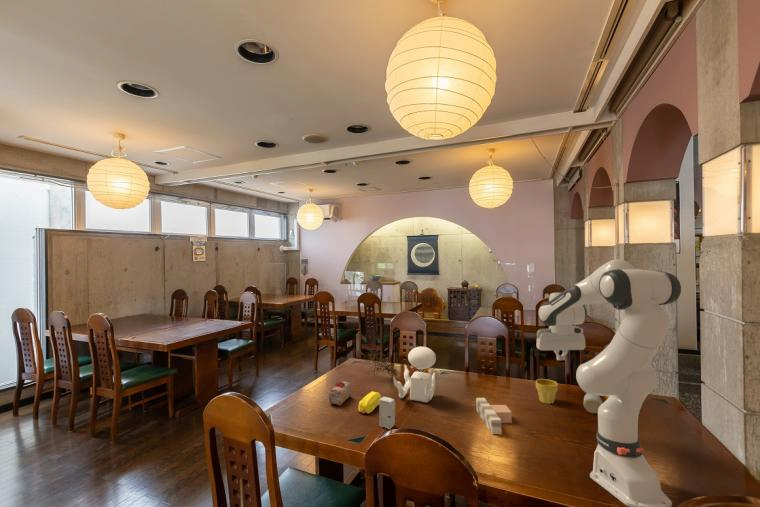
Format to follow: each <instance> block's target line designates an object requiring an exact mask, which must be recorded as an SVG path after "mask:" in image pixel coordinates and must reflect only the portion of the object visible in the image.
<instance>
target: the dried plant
mask: <svg viewBox="0 0 760 507" xmlns="http://www.w3.org/2000/svg"><path fill="white" fill-rule="evenodd" d="M359 331H361V330H360V327H359ZM364 339H365V337H364V336H363V334H361V340H363V343H364V342H365V341H366V340H364ZM362 347H363V348H364V350H365V349H366V350H368V352H365V353H362V350H360V349H358V350H355V349H354V348H353V349H352V351H353V352H354V353H355V354H356V353H357V354H356V357H359V358H361V357H360V356H361V355H362V356H363V357H362V358H361V359H362V360H364V362H361V365H362V366H363V365H368V363H369V365H370V364H371V363H370V362H372V363H373V366H374V367H371V368H370V367H366V368H364V369H363V371H365V373H362V375H363V376H364V375H365V374H370V372H371V374H373V376H374V377H376V375H378V374H379V373H382V372H384V374H387V373H388V374H392V375H393V376H394V377H395V376H396V377H398V376H399V375H400V372H399V371H398V370H397V368H394V366H393V365H394V364H393V363H392V362H390V363H388V362H387V357H386V356H387V354H384V353H382V352H383V351H382V350H381V349H380V348H379V349H378V350H379V353H378V354H377V353H376V352H377V351H376V350H373V349H372V348H370V346H368V344H366V342H365V344H362ZM329 348H332V346H329ZM335 348H336V347H333V349H335ZM337 348H338V350H340V349H341V350H342V353H344V351H347V349H345V348H346V347H344V346H343V347H341V346H339V347H337ZM380 350H381V351H380ZM348 351H350V352H351V349H350V350H349V349H348ZM368 369H369V370H368ZM375 373H376V374H375Z"/></svg>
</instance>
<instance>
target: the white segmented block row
mask: <svg viewBox="0 0 760 507" xmlns="http://www.w3.org/2000/svg"><path fill="white" fill-rule="evenodd" d="M475 404H476V405H475V410H476V412H477V414H478V415H479V416H480V417H479V418H480V419H481V420H482V421H483V423H484V424H485V426H486V427H487V429H488V431H489V433H490V434H491V435H492V434H500V435H502V434H503V433H502V423H501V419H500V418H499V417H498V415H497V414H496V413H495V411H494V410H493V409H492V407H491V406H490V405H491V404H490V403H489V402H488V401H487V399H486V398H485V397H475Z"/></svg>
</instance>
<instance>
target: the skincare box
mask: <svg viewBox="0 0 760 507" xmlns="http://www.w3.org/2000/svg"><path fill="white" fill-rule="evenodd" d="M378 406H379V407H378V409H379V410H378V412H379V413H378V414H379V415H378V416H379V418H378V424H379V425H378V426H380V428H383V427H385V428H384V429H386V428H387V429H386V430H392V429H393V428H394V427H395V426H394V425H396V424H395V423H396V421H395V419H396V399H394V398H392V397H388V396H381V399H380V400H379V405H378ZM393 426H394V427H393ZM392 427H393V428H392ZM391 428H392V429H391Z"/></svg>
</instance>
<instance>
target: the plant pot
mask: <svg viewBox="0 0 760 507" xmlns="http://www.w3.org/2000/svg"><path fill="white" fill-rule="evenodd" d="M558 386H559V384H558V382H557V381H556V380H555V381H554V380H551V379H545V378H538V379H536V380H535V389H537V394H538V399H539V401H540V402H541V403H543V404H547V405H548V404H551V403H552V404H554V403H555V399H556V394H557V392H558V389H559V387H558ZM552 404H551V405H552Z"/></svg>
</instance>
